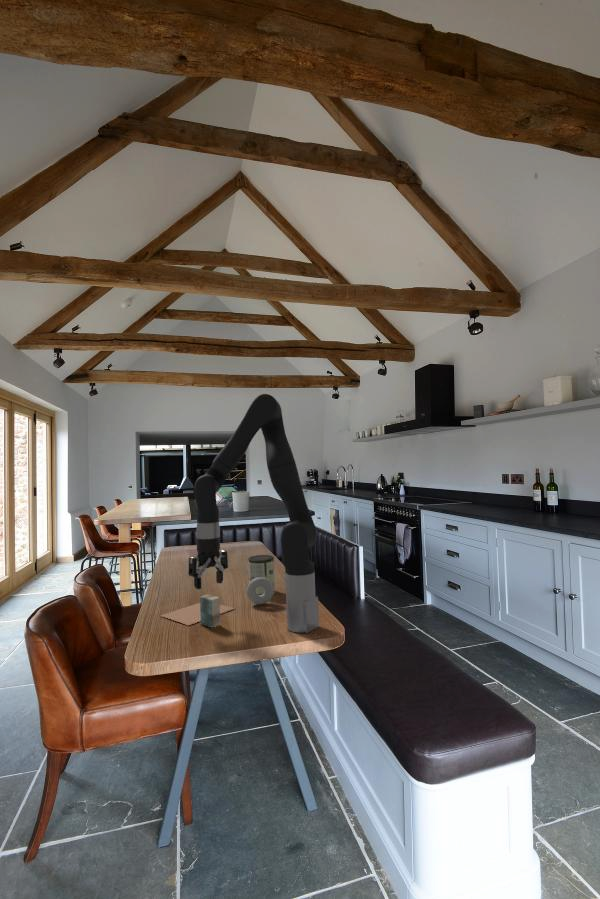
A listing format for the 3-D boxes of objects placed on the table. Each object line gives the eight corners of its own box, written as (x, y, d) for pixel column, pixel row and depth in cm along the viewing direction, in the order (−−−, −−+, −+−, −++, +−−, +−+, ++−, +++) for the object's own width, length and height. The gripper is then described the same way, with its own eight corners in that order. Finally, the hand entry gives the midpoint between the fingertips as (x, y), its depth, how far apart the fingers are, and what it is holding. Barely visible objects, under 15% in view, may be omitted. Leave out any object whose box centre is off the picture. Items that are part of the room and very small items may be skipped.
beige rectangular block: (220, 625, 143) (219, 597, 143) (212, 628, 140) (211, 600, 141) (208, 621, 147) (207, 594, 147) (200, 624, 144) (199, 596, 144)
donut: (247, 607, 160) (246, 579, 161) (246, 604, 164) (246, 576, 164) (274, 604, 162) (273, 577, 162) (273, 602, 165) (272, 575, 165)
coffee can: (252, 589, 183) (251, 554, 184) (277, 589, 182) (276, 554, 182) (246, 596, 173) (245, 560, 174) (272, 596, 172) (271, 560, 172)
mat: (234, 609, 158) (234, 608, 158) (188, 626, 143) (188, 625, 143) (206, 601, 168) (206, 600, 168) (160, 616, 153) (160, 615, 153)
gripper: (197, 540, 137) (198, 593, 136) (232, 533, 148) (233, 582, 147) (183, 538, 142) (183, 589, 141) (218, 531, 152) (218, 579, 152)
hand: (209, 585), depth 144 cm, fingers open, 8 cm apart
